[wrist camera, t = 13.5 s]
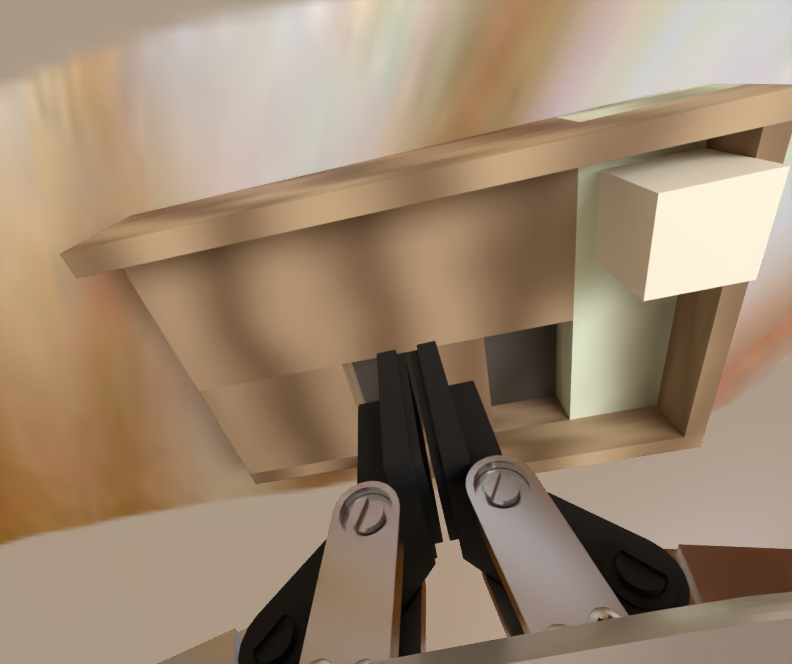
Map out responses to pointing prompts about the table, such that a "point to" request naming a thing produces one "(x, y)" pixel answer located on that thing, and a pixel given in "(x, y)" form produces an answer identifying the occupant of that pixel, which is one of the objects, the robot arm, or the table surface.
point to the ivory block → (686, 220)
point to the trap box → (447, 289)
